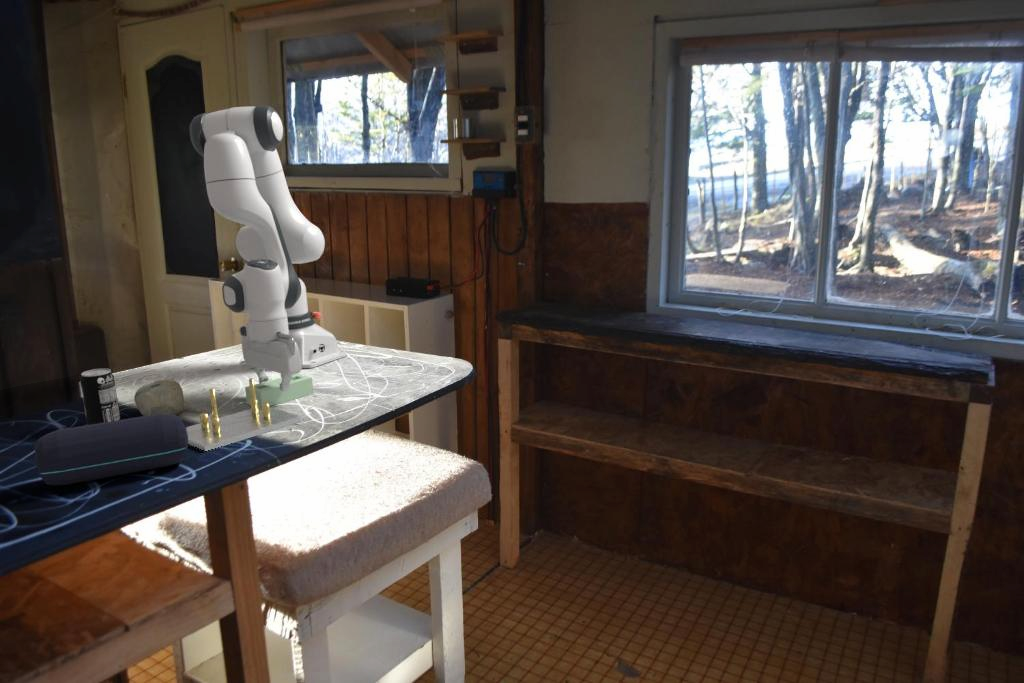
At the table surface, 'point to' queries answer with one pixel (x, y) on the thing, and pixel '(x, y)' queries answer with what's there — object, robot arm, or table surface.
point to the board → (274, 395)
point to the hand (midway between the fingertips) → (274, 387)
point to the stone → (160, 398)
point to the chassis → (237, 423)
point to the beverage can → (99, 396)
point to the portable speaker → (110, 449)
